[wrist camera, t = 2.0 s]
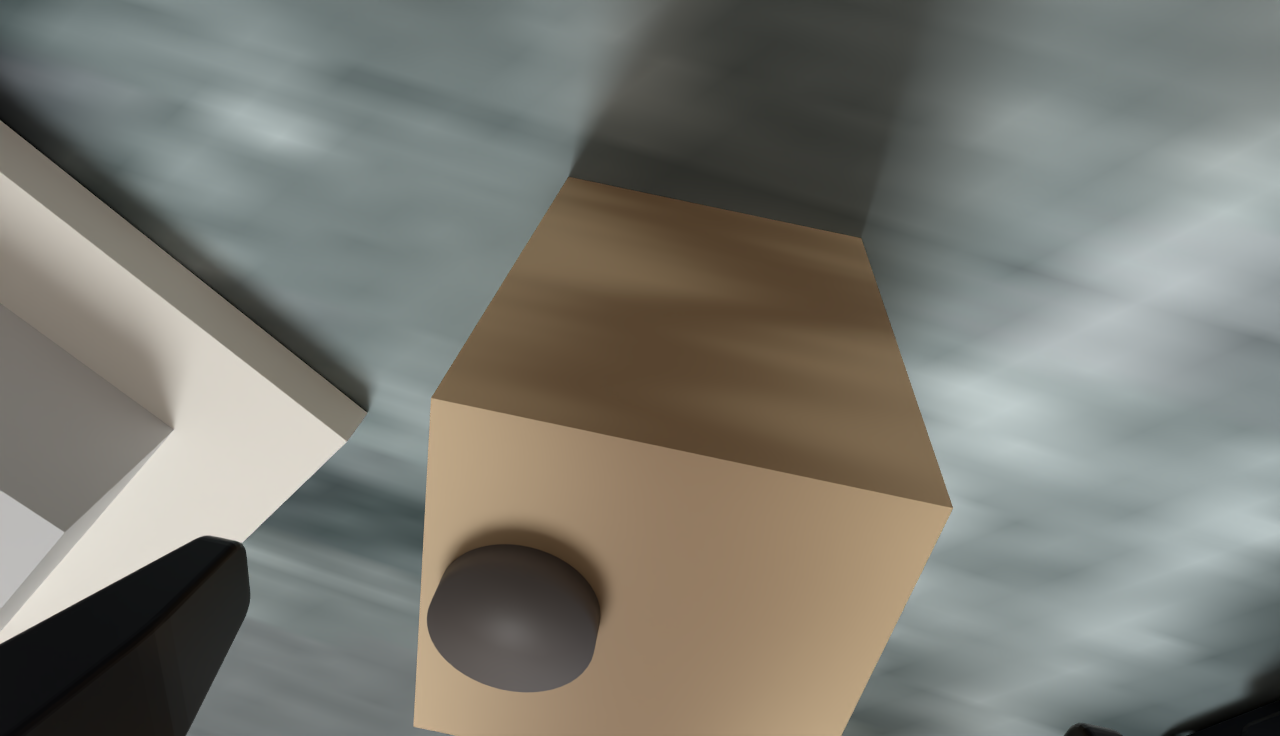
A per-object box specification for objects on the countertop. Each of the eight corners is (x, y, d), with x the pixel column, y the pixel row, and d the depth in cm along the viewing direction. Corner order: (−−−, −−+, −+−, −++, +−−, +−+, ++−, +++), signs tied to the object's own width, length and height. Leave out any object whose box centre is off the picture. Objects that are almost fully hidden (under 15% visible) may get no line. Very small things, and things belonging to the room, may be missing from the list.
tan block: (860, 237, 14) (963, 537, 7) (781, 470, 16) (807, 842, 10) (568, 176, 14) (417, 421, 7) (535, 418, 16) (402, 755, 10)
